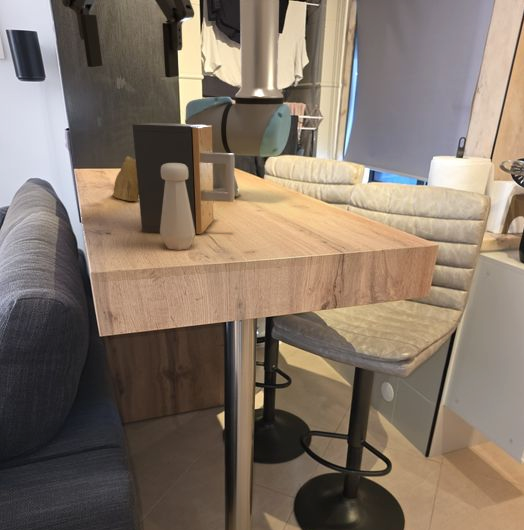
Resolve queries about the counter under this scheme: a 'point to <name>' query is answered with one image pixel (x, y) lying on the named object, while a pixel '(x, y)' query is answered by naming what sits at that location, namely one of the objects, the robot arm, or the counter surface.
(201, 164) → the door
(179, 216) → the salt shaker
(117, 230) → the counter surface
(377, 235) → the counter surface
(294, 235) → the counter surface
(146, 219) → the dark grey cabinet
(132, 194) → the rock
